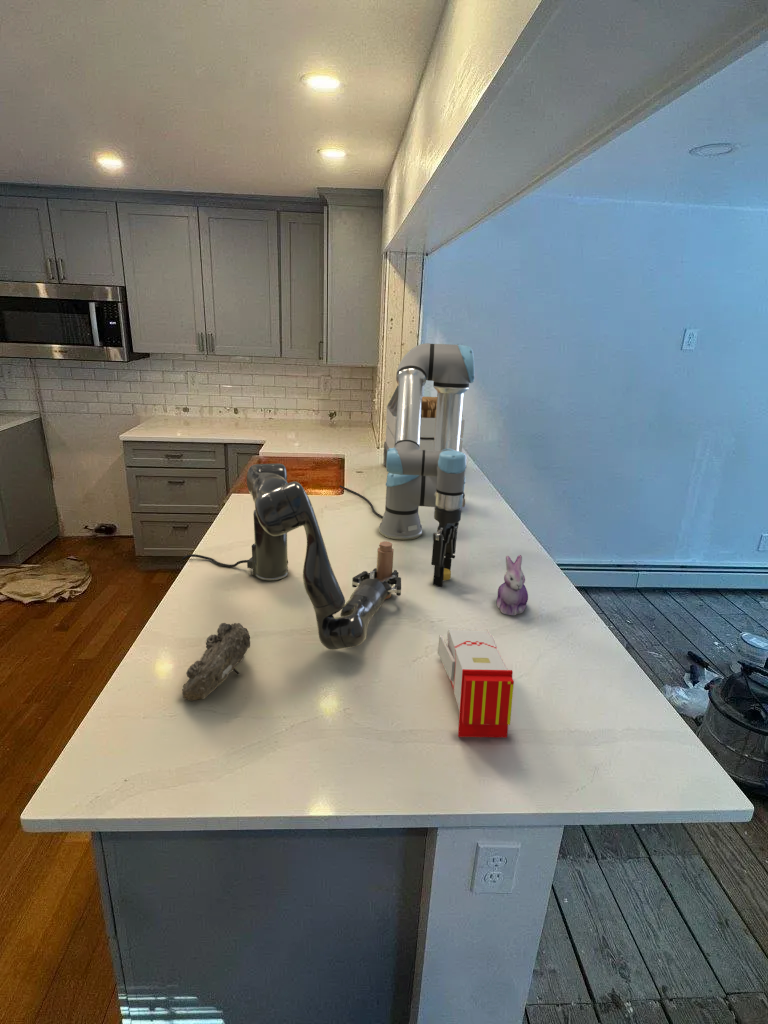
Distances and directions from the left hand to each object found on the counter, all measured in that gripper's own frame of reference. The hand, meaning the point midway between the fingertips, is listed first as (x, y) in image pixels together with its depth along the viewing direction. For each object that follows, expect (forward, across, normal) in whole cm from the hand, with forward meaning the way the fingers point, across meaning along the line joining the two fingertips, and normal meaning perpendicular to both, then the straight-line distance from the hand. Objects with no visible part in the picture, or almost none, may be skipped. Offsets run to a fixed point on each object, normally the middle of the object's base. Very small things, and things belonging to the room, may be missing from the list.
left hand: (387, 571), depth 157 cm
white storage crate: (+122, +21, +6) cm, 124 cm away
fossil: (-49, +22, +6) cm, 54 cm away
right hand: (+12, -13, +6) cm, 19 cm away
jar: (-3, 0, +6) cm, 7 cm away
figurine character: (+80, -4, +6) cm, 80 cm away
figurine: (+4, -34, +6) cm, 35 cm away
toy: (-36, -30, +6) cm, 47 cm away
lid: (+12, -13, +3) cm, 18 cm away
